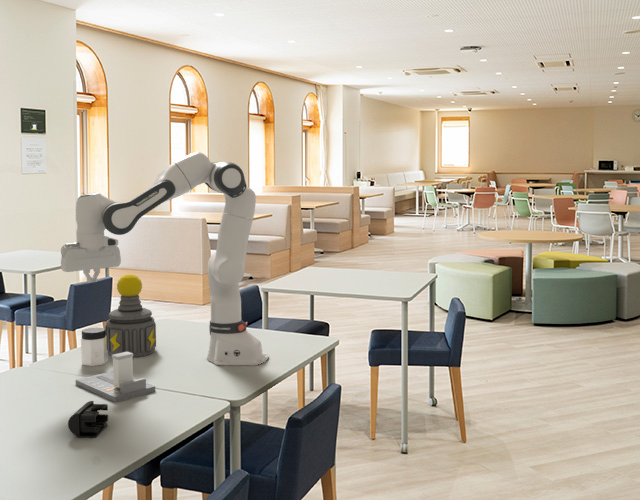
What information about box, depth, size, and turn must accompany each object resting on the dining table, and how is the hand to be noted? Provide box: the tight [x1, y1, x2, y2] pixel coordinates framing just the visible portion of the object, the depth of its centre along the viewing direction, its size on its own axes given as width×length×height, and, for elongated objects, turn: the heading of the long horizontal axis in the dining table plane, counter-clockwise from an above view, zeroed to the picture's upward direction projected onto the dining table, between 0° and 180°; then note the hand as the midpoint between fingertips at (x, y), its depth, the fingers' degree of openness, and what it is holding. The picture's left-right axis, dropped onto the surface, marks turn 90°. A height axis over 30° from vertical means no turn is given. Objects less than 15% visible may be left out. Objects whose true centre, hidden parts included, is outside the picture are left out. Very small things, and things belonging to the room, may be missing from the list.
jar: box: [80, 327, 108, 367], centre depth 242 cm, size 9×8×12 cm
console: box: [75, 370, 156, 403], centre depth 215 cm, size 24×14×5 cm, turn 47°
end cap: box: [67, 400, 109, 439], centre depth 180 cm, size 10×7×7 cm
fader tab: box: [111, 352, 134, 388], centre depth 211 cm, size 3×5×10 cm, turn 137°
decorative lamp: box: [104, 273, 157, 359], centre depth 255 cm, size 19×19×30 cm
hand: (92, 282), depth 228 cm, fingers closed
